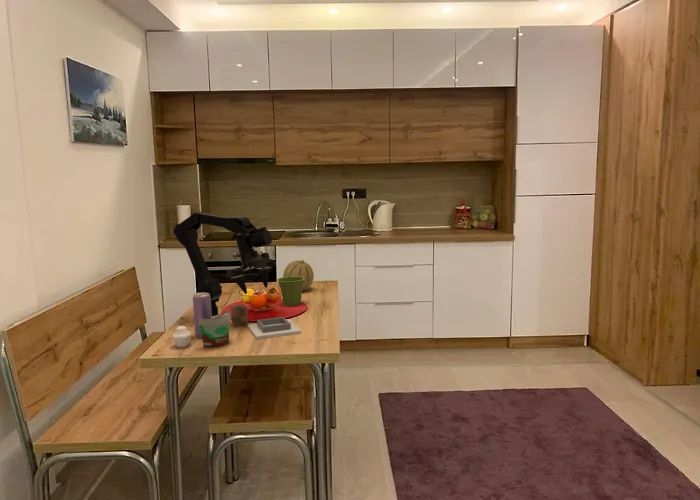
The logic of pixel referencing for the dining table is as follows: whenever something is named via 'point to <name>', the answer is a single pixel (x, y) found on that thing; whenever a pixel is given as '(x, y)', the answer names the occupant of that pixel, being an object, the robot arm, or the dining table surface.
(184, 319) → the dining table surface
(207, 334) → the food container
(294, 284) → the plant pot
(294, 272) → the cantaloupe
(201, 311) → the beverage can
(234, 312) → the walnut peg
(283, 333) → the socket base
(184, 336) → the white lidded jar
